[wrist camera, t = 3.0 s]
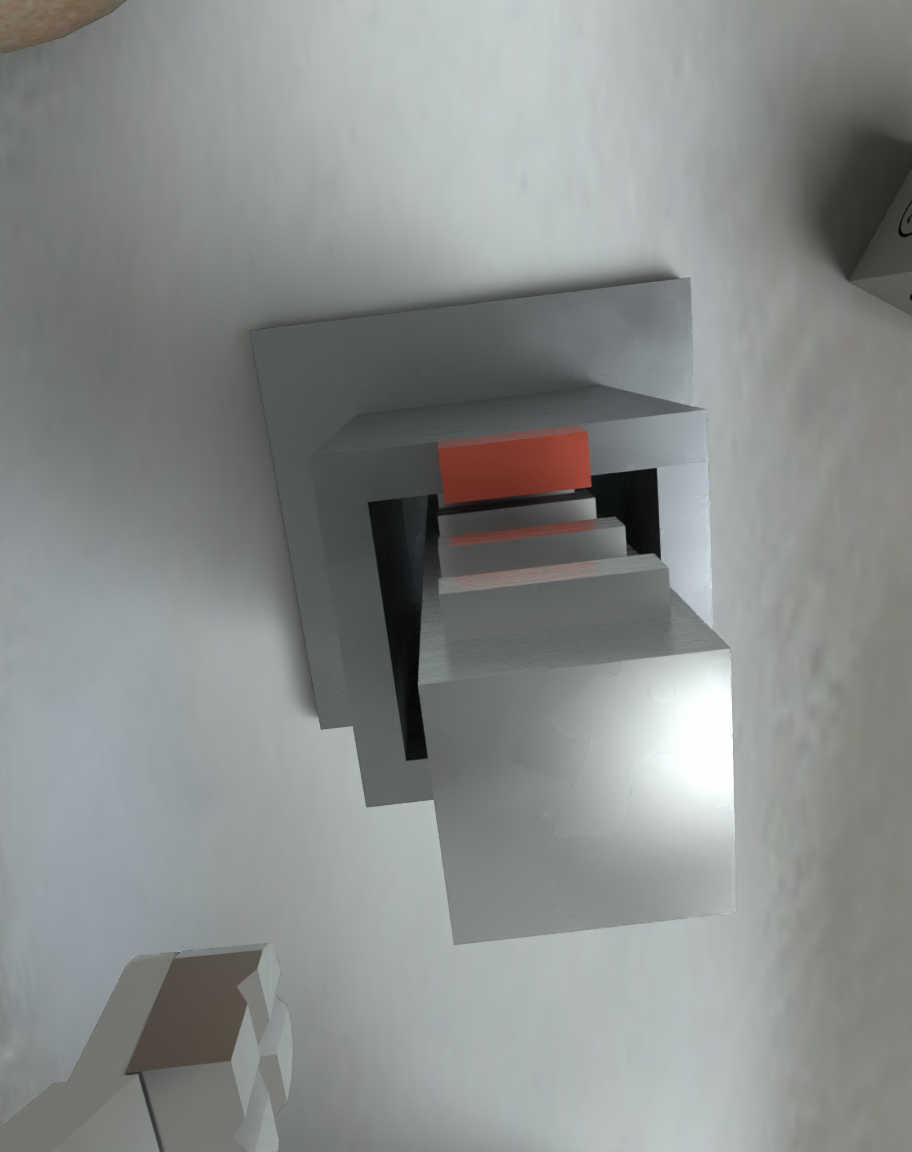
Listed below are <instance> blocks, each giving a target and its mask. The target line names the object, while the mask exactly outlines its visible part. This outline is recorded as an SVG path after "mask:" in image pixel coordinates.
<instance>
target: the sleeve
mask: <svg viewBox="0 0 912 1152" xmlns="http://www.w3.org/2000/svg"><path fill="white" fill-rule="evenodd" d="M250 335H251V341H252V346H253V352H254V358H255V363H256V369H257V374H258V380H259V386H260V391H261V397H262V402H263V408H264V414H265V419H266V425H267V430H268V436H269V442H270V447H271V453H272V458H273V464H274V470H275V475H276V481H277V487H278V492H279V498H280V503H281V509H282V515H283V520H284V526H285V531H286V537H287V543H288V548H289V554H290V559H291V565H292V571H293V576H294V582H295V588H296V593H297V599H298V604H299V610H300V616H301V621H302V627H303V632H304V638H305V644H306V649H307V655H308V660H309V666H310V672H311V677H312V683H313V689H314V694H315V700H316V705H317V711H318V717H319V722H320V728H321V730H322V729H330V728H339V727H348V726H353V730H354V736H355V742H356V748H357V754H358V760H359V766H360V772H361V778H362V784H363V790H364V796H365V802H366V807H374V806H383V805H391V804H400V803H409V802H417V801H426V800H434V797H433V790H432V783H431V775H430V768H429V761H428V754H427V747H426V739H425V732H424V725H423V718H422V711H421V703H420V696H419V689H418V674H419V654H420V634H421V615H422V595H423V575H424V556H425V536H426V516H427V497H428V495H431V494H440V493H443V494H444V502H445V504H452V503H460V502H469V501H477V500H485V499H494V498H502V497H511V496H519V495H528V494H536V493H544V492H553V491H561V490H570V489H576V490H577V491H578V492H582V491H589V492H590V493H591V494H592V495H593V496H594V497H595V502H596V511H597V512H598V513H599V514H600V515H601V516H602V517H603V518H607V517H616V518H617V519H618V520H619V521H620V522H621V523H622V524H623V525H624V526H625V533H626V542H627V543H628V544H629V545H630V546H631V547H632V548H633V549H634V550H635V551H636V552H637V553H638V554H639V555H644V554H652V553H654V554H655V555H656V556H657V557H658V558H659V559H660V560H661V561H662V562H663V563H664V564H665V565H666V566H667V567H669V585H670V587H671V588H672V589H673V590H674V591H675V592H676V593H677V594H678V595H679V596H680V597H681V598H682V599H683V600H684V601H685V602H686V603H687V604H688V605H689V606H690V607H691V608H692V610H693V611H694V612H695V613H696V614H697V615H698V616H699V617H700V618H701V619H702V620H703V621H704V622H705V623H706V624H707V625H708V626H709V627H710V628H711V629H712V630H713V612H712V577H711V542H710V507H709V472H708V437H707V410H706V409H702V408H698V407H694V378H693V347H692V317H691V286H690V277H689V278H681V279H673V280H664V281H656V282H648V283H639V284H631V285H623V286H614V287H606V288H598V289H590V290H581V291H573V292H565V293H556V294H548V295H540V296H531V297H523V298H515V299H507V300H498V301H490V302H482V303H473V304H465V305H457V306H448V307H440V308H432V309H423V310H415V311H407V312H399V313H390V314H382V315H374V316H365V317H357V318H349V319H340V320H332V321H324V322H316V323H307V324H299V325H291V326H282V327H274V328H266V329H257V330H250Z"/></svg>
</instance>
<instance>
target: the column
mask: <svg viewBox="0 0 912 1152" xmlns="http://www.w3.org/2000/svg"><path fill="white" fill-rule="evenodd" d="M418 689H419V696H420V703H421V711H422V718H423V725H424V732H425V739H426V747H427V754H428V761H429V768H430V775H431V783H432V790H433V797H434V804H435V811H436V818H437V826H438V833H439V840H440V847H441V854H442V862H443V869H444V876H445V883H446V890H447V898H448V905H449V912H450V919H451V926H452V934H453V941H454V945H458V944H467V943H476V942H484V941H493V940H502V939H511V938H519V937H528V936H537V935H546V934H554V933H563V932H572V931H581V930H589V929H598V928H607V927H616V926H624V925H633V924H642V923H651V922H659V921H668V920H677V919H686V918H694V917H703V916H712V915H721V914H729V913H736V874H735V829H734V785H733V740H732V696H731V651H730V647H729V646H728V645H727V644H726V643H725V642H724V641H723V640H722V639H721V638H720V637H719V636H718V635H717V634H716V633H715V632H714V631H713V630H712V629H711V628H710V627H709V626H708V625H707V624H706V623H705V622H704V621H703V620H702V619H701V618H700V617H699V616H698V615H697V614H696V613H695V612H694V611H693V610H692V608H691V607H690V606H689V605H688V604H687V603H686V602H685V601H684V600H683V599H682V598H681V597H680V596H679V595H678V594H677V593H676V592H675V591H674V590H673V589H672V588H671V587H670V585H669V567H667V566H666V565H665V564H664V563H663V562H662V561H661V560H660V559H659V558H658V557H657V556H656V555H655V554H654V553H652V554H644V555H639V554H638V553H637V552H636V551H635V550H634V549H633V548H632V547H631V546H630V545H629V544H628V543H627V542H626V533H625V526H624V525H623V524H622V523H621V522H620V521H619V520H618V519H617V518H616V517H607V518H603V517H602V516H601V515H600V514H599V513H598V512H597V511H596V502H595V497H594V496H593V495H592V494H591V493H590V492H589V491H582V492H578V491H577V490H576V489H570V490H561V491H553V492H544V493H536V494H528V495H519V496H511V497H502V498H494V499H485V500H477V501H469V502H460V503H452V504H445V502H444V494H443V493H440V494H431V495H428V497H427V516H426V536H425V556H424V575H423V595H422V615H421V634H420V654H419V674H418Z"/></svg>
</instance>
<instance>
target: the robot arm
mask: <svg viewBox="0 0 912 1152" xmlns="http://www.w3.org/2000/svg"><path fill="white" fill-rule="evenodd" d="M279 977H280V969H279V965H278V961H277V957H276V953H275V949H274V948H273V947H272V946H271V945H270V944H269V943H266V944H254V945H243V946H232V947H221V948H209V949H198V950H187V951H182V952H172V953H161V954H151V955H141V956H137V957H135V958H134V959H133V960H132V961H130V962H129V963H128V964H127V966H126V967H125V969H124V971H123V973H122V975H121V977H120V979H119V981H118V983H117V985H116V987H115V989H114V991H113V993H112V995H111V997H110V999H109V1001H108V1003H107V1005H106V1007H105V1009H104V1011H103V1013H102V1015H101V1017H100V1019H99V1021H98V1023H97V1025H96V1027H95V1029H94V1031H93V1033H92V1035H91V1037H90V1039H89V1041H88V1043H87V1045H86V1047H85V1049H84V1051H83V1053H82V1055H81V1057H80V1059H79V1061H78V1063H77V1065H76V1067H75V1069H74V1071H73V1073H72V1075H71V1077H70V1079H69V1081H68V1082H62V1083H54V1084H53V1085H51V1086H50V1087H49V1088H48V1089H47V1090H45V1091H44V1092H43V1093H42V1094H41V1095H39V1096H38V1097H37V1098H36V1099H35V1100H33V1101H32V1102H31V1103H30V1104H29V1105H27V1106H26V1107H25V1108H24V1109H23V1110H21V1111H20V1112H19V1113H18V1114H17V1115H15V1116H14V1117H13V1118H12V1119H11V1120H9V1121H8V1122H7V1123H6V1124H5V1125H3V1126H2V1127H1V1128H0V1152H277V1151H278V1146H279V1139H278V1134H277V1129H276V1125H275V1120H274V1117H275V1115H276V1114H277V1113H278V1112H279V1111H280V1110H281V1109H282V1107H283V1106H284V1105H285V1104H286V1103H287V1100H288V1094H289V1089H290V1083H291V1077H292V1058H293V1041H292V1029H291V1021H290V1016H289V1011H288V1006H287V1005H286V1004H285V1003H284V1002H283V1001H281V1000H280V999H279V998H278V997H277V996H276V995H275V994H276V990H277V986H278V981H279Z"/></svg>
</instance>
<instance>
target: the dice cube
mask: <svg viewBox="0 0 912 1152" xmlns="http://www.w3.org/2000/svg"><path fill="white" fill-rule="evenodd" d="M848 282H850V283H852V284H853V285H855V286H857V287H859V288H861V289H863V290H865V291H867V292H868V293H870V294H872V295H874V296H876V297H878V298H880V299H882V300H883V301H885V302H887V303H889V304H891V305H893V306H895V307H897V308H898V309H900V310H902V311H904V312H906V313H908V314H910V315H911V316H912V168H911V170H910V171H909V173H908V175H907V177H906V179H905V180H904V182H903V184H902V186H901V188H900V189H899V191H898V193H897V195H896V197H895V198H894V200H893V202H892V204H891V206H890V207H889V209H888V211H887V213H886V214H885V216H884V218H883V220H882V222H881V223H880V225H879V227H878V229H877V231H876V232H875V234H874V236H873V238H872V240H871V241H870V243H869V245H868V247H867V249H866V250H865V252H864V254H863V256H862V257H861V259H860V261H859V263H858V265H857V266H856V268H855V270H854V272H853V274H852V275H851V277H850V279H849V281H848Z"/></svg>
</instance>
